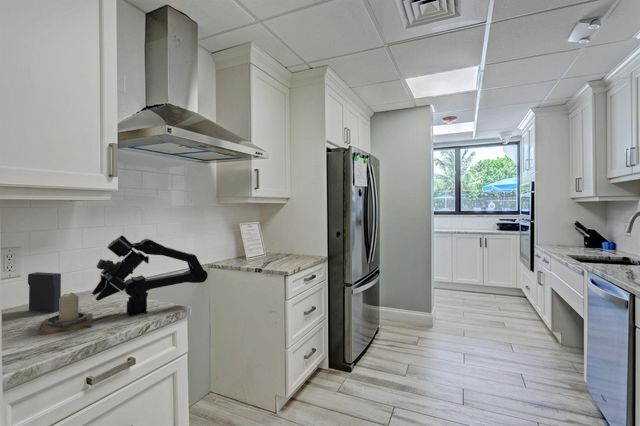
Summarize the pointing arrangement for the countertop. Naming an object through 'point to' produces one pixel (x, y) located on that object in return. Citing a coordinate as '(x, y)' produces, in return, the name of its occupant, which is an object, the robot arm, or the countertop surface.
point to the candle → (68, 307)
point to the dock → (66, 323)
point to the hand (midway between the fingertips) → (94, 297)
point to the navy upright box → (44, 292)
